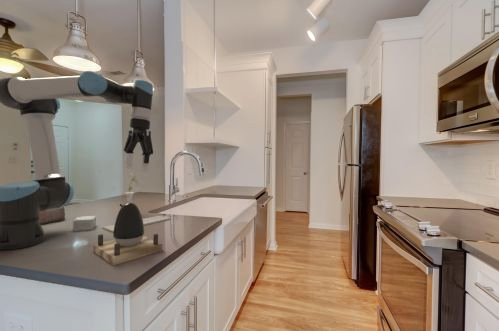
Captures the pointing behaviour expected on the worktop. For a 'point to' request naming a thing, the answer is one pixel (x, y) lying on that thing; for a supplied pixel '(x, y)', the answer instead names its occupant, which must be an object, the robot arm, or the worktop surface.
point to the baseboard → (145, 222)
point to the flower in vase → (129, 195)
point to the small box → (84, 223)
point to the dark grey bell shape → (128, 225)
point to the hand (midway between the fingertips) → (136, 170)
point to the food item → (52, 215)
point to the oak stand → (126, 249)
